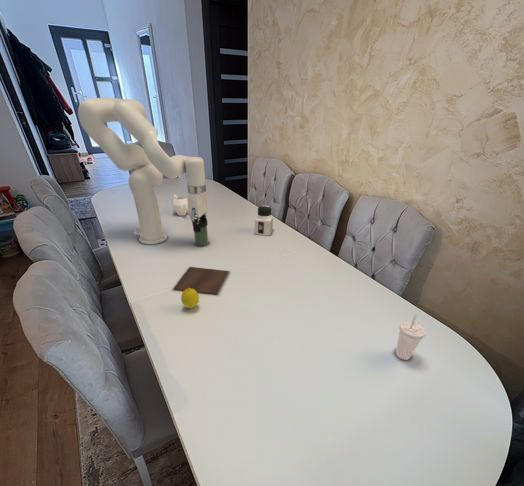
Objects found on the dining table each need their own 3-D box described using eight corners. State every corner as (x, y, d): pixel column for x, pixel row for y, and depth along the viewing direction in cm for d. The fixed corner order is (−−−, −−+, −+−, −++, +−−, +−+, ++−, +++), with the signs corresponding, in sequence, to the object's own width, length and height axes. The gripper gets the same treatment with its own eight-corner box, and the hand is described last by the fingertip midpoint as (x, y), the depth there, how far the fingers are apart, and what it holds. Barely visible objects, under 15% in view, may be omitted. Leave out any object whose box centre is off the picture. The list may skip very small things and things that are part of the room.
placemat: (173, 289, 110) (173, 288, 109) (190, 268, 123) (189, 266, 123) (216, 294, 108) (216, 293, 107) (228, 272, 121) (228, 271, 121)
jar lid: (190, 227, 135) (190, 223, 134) (194, 221, 140) (194, 217, 139) (205, 228, 135) (205, 224, 134) (208, 222, 140) (208, 218, 139)
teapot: (179, 221, 165) (176, 204, 160) (168, 210, 180) (166, 194, 175) (196, 218, 170) (194, 201, 164) (184, 207, 184) (182, 192, 179)
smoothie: (386, 347, 88) (399, 308, 80) (408, 346, 88) (423, 307, 81) (396, 364, 82) (412, 323, 75) (419, 363, 83) (436, 323, 75)
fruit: (191, 315, 98) (189, 294, 93) (179, 309, 100) (176, 288, 96) (203, 306, 102) (201, 286, 97) (190, 301, 104) (188, 281, 100)
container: (269, 235, 152) (271, 210, 145) (254, 234, 153) (255, 208, 146) (272, 229, 158) (273, 205, 151) (258, 228, 160) (258, 203, 152)
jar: (193, 245, 140) (191, 223, 135) (197, 240, 145) (195, 219, 140) (205, 247, 140) (204, 225, 134) (210, 241, 145) (208, 220, 139)
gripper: (196, 183, 137) (200, 221, 146) (179, 193, 122) (184, 235, 132) (212, 184, 135) (215, 222, 145) (196, 195, 121) (200, 237, 131)
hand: (200, 228), depth 138 cm, fingers closed on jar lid, 6 cm apart
